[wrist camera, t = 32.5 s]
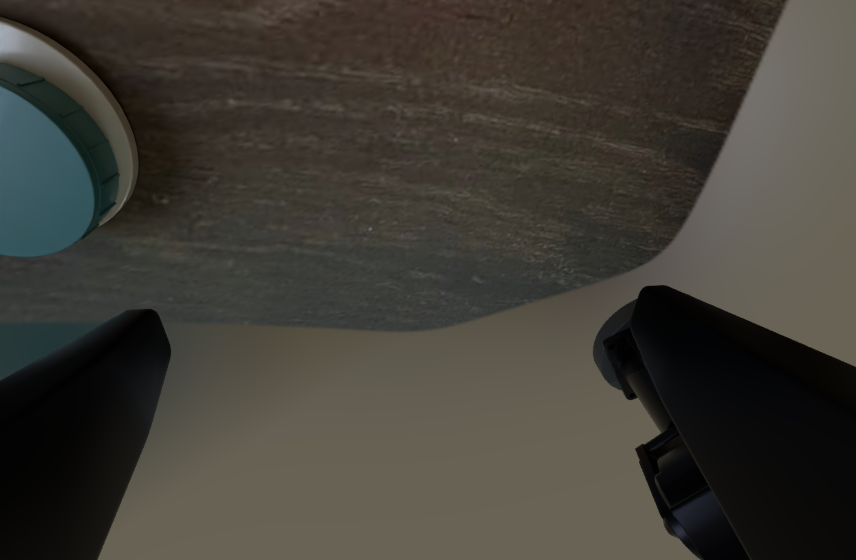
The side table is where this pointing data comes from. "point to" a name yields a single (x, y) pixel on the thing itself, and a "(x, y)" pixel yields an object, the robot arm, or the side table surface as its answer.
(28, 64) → the saucer
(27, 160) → the lid
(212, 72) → the side table surface
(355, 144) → the side table surface
